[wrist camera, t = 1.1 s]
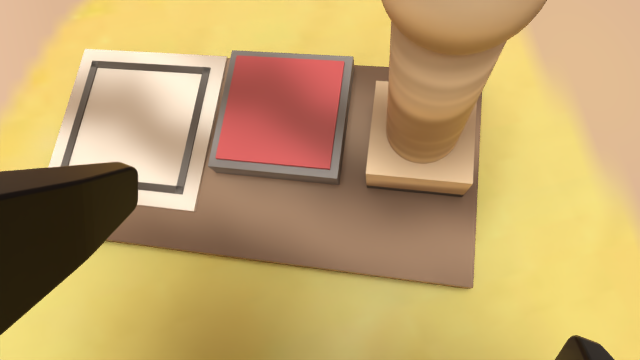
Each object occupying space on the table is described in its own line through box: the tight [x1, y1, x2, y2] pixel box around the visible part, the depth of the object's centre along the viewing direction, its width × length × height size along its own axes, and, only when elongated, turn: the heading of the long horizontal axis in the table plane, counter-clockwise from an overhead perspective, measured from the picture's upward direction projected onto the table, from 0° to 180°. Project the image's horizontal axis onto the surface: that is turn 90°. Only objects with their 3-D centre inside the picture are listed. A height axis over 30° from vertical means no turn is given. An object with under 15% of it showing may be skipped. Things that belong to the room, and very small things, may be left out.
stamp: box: [366, 0, 547, 197], centre depth 15 cm, size 5×5×14 cm
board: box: [48, 49, 482, 288], centre depth 23 cm, size 11×23×2 cm, turn 82°
